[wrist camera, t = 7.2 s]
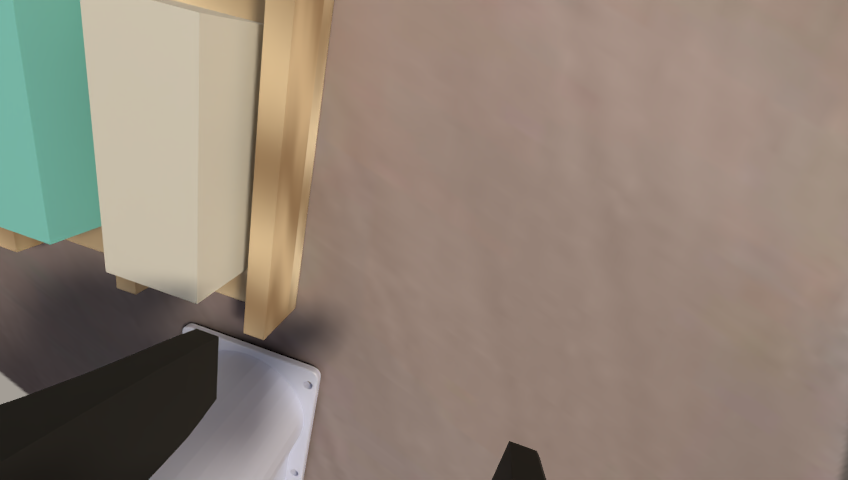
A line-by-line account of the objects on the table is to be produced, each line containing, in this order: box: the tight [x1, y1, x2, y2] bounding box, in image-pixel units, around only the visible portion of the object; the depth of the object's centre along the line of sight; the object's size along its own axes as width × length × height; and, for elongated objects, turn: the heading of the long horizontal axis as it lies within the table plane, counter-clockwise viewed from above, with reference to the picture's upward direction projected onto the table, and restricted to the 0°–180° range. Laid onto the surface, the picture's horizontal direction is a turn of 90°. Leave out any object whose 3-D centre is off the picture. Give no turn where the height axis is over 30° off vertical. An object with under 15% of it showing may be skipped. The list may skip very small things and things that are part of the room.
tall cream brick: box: [80, 0, 264, 304], centre depth 16 cm, size 10×4×4 cm, turn 167°
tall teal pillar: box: [0, 0, 101, 245], centre depth 16 cm, size 10×4×4 cm, turn 167°
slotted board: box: [0, 0, 334, 340], centre depth 17 cm, size 15×14×3 cm
